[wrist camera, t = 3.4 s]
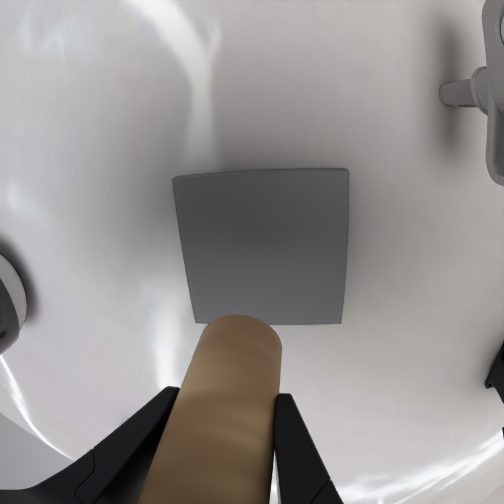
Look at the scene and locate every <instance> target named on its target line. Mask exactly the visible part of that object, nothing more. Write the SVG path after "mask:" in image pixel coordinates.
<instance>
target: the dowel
mask: <svg viewBox="0 0 504 504" xmlns="http://www.w3.org/2000/svg"><path fill="white" fill-rule="evenodd" d="M281 354H282V345H281V341H280V339H279V336H278V335H277V333H276V332H275V331H274V330H273V329H272V328H271V327H270V326H269V325H268V324H266V323H265V322H263V321H261V320H259V319H257V318H254V317H251V316H247V315H238V314H234V315H225V316H222V317H219V318H217V319H215V320H213V321H211V322H210V323H209V324H208V325H207V326H206V327H205V329H204V330H203V332H202V335H201V337H200V340H199V342H198V345H197V347H196V350H195V352H194V355H193V357H192V360H191V362H190V365H189V368H188V370H187V373H186V375H185V378H184V380H183V383H182V385H181V388H180V391H179V393H178V396H177V398H176V401H175V403H174V406H173V409H172V411H171V414H170V416H169V419H168V422H167V424H166V427H165V429H164V432H163V435H162V437H161V440H160V443H159V445H158V448H157V450H156V453H155V456H154V458H153V461H152V464H151V466H150V469H149V472H148V474H147V477H146V480H145V482H144V485H143V488H142V491H141V493H140V496H139V499H138V501H137V504H269V501H270V492H271V482H272V472H273V461H274V450H275V442H274V419H275V409H276V399H277V394H279V386H280V371H281Z"/></svg>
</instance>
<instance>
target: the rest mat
mask: <svg viewBox="0 0 504 504" xmlns="http://www.w3.org/2000/svg"><path fill="white" fill-rule="evenodd" d="M172 182H173V190H174V198H175V205H176V212H177V219H178V226H179V233H180V239H181V246H182V252H183V258H184V264H185V270H186V276H187V281H188V287H189V292H190V298H191V303H192V308H193V313H194V318H195V323H204V324H209V323H210V322H211V321H213V320H215V319H217V318H219V317H222V316H225V315H234V314H238V315H247V316H251V317H254V318H257V319H259V320H261V321H263V322H265V323H266V324H268V325H314V324H341V321H342V311H343V300H344V288H345V275H346V259H347V240H348V210H349V171H348V170H347V169H278V170H254V171H236V172H221V173H207V174H195V175H184V176H177V177H175V178H173V179H172Z"/></svg>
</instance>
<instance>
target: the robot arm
mask: <svg viewBox="0 0 504 504" xmlns="http://www.w3.org/2000/svg"><path fill="white" fill-rule="evenodd" d="M485 387H486V388H487V389H488V388H492V387H495V388H496V390H497V392H498V394H499V396H500V398H501V400H502V402H503V403H504V345H503V347H502V349H501V351H500V354H499V356H498V358H497V360H496V362H495V364H494V367H493V369H492V371H491V373H490V375H489V377H488V379H487V381H486V383H485ZM179 391H180V388H179V387H173V386H167V387H165V388H164V389H163V390H162V391H161V392H160V393H158V394H157V395H156V396H155V397H154V398H153V399H151V400H150V401H149V402H148V403H147V404H146V405H144V406H143V407H142V408H141V409H140V410H139V411H137V412H136V413H135V414H134V415H133V416H131V417H130V418H129V419H128V420H127V421H125V422H124V423H123V424H122V425H121V426H119V427H118V428H117V429H116V430H114V431H113V432H112V433H111V434H110V435H108V436H107V437H106V438H105V439H103V440H102V441H101V442H100V443H99V444H97V445H96V446H95V447H94V448H93V449H91V450H90V451H88V452H87V453H86V454H85V455H83V456H82V457H81V458H79V459H78V460H77V461H75V462H74V463H72V464H71V465H69V466H68V467H66V468H65V469H63V470H61V471H60V472H58V473H56V474H55V475H53V476H51V477H50V478H48V479H46V480H44V481H43V482H41V483H39V484H37V485H35V486H33V487H30V488H27V489H21V490H0V504H137V501H138V499H139V496H140V493H141V491H142V488H143V485H144V482H145V480H146V477H147V474H148V472H149V469H150V466H151V464H152V461H153V458H154V456H155V453H156V450H157V448H158V445H159V443H160V440H161V437H162V435H163V432H164V429H165V427H166V424H167V422H168V419H169V416H170V414H171V411H172V409H173V406H174V403H175V401H176V398H177V396H178V393H179ZM502 431H503V437H504V427H503V428H502ZM274 442H275V467H276V480H277V493H278V504H344V503H343V501H342V499H341V498H340V496H339V494H338V492H337V490H336V488H335V486H334V484H333V482H332V480H330V479H331V478H330V476H329V474H328V472H327V470H326V468H325V466H324V463H323V461H322V459H321V457H320V455H319V453H318V451H317V449H316V447H315V444H314V442H313V440H312V438H311V436H310V434H309V432H308V429H307V427H306V425H305V423H304V421H303V419H302V417H301V414H300V412H299V410H298V408H297V406H296V403H295V401H294V399H293V397H292V395H291V394H289V393H279V394H277V399H276V409H275V419H274Z"/></svg>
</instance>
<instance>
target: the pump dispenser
mask: <svg viewBox="0 0 504 504" xmlns="http://www.w3.org/2000/svg"><path fill="white" fill-rule="evenodd" d="M26 309H27V303H26V295H25V291H24V288H23V285H22V282H21V280H20V278H19V276H18V274H17V272H16V271H15V269H14V268H13V266H12V265H11V264H10V263H9V262H8V261H7V260H6V259H5V258H4V257H3V256H1V255H0V355H1V354H2V353H4V352H5V351H6V350H7V349H9V348H10V347H11V346H12V345H13V344H14V343H15V342H16V341H17V339H18V337H19V332H20V330H21V328H22V326H23V323H24V321H25V317H26Z"/></svg>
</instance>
